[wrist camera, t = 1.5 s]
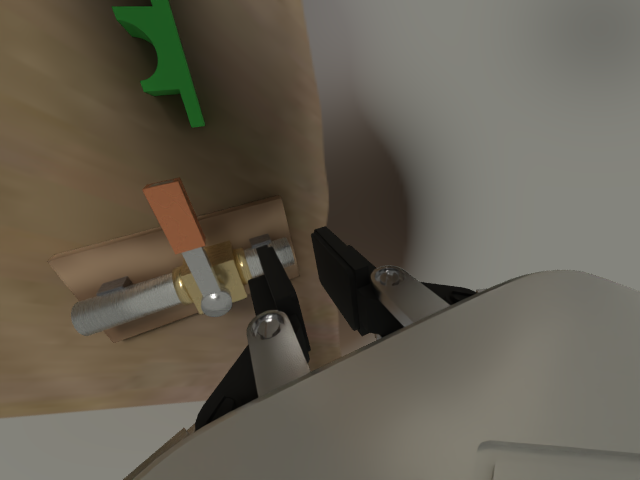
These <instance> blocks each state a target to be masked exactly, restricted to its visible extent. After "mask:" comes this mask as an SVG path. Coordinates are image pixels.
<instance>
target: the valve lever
mask: <svg viewBox="0 0 640 480" xmlns="http://www.w3.org/2000/svg"><path fill="white" fill-rule="evenodd" d="M142 190H143V192H144V194H145V196H146V198H147V200H148V202H149V204H150V206H151V208H152V210H153V212H154V214H155V215H156V217H157V219H158V221H159V223H160V225H161V227H162V229H163V231H164V233H165V235H166V237H167V239H168V241H169V243H170V245H171V247H172V249H173V251H174V253H175V255H176V254H179V253H182V255H183V257H184V259H185V261H186V263H187V265H188V267H189V269H190V271H191V273H192V275H193V277H194V279H195V281H196V283H197V285H198V287H199V289H200V291H201V293H202V297H201V309H202V311H203V313H204V314H206V315H208V316H211V317H218V316H222V315H224V314H226V313H227V312H228V311H229V310H230V309H231V307H232V297H231V292H230V291H229V290H228V289H227V288H225V285H224V284H222V283H220V282H219V281H218V279H217V276H216V274H215V272H214V270H213V267H212V265H211V263H210V260H209V258H208V256H207V253H206V251H205V249H204V247H203V246H206V238H205V235H204V233H203V231H202V228H201V226H200V224H199V221H198V219H197V216H196V214H195V212H194V209H193V207H192V205H191V202H190V200H189V198H188V195H187V193H186V190H185V188H184V186H183V183H182V181H181V179H180V177H179V178H175V179H170V180H166V181H161V182H157V183H152V184H148V185H146V186H145V187H144V188H143V189H142Z"/></svg>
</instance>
